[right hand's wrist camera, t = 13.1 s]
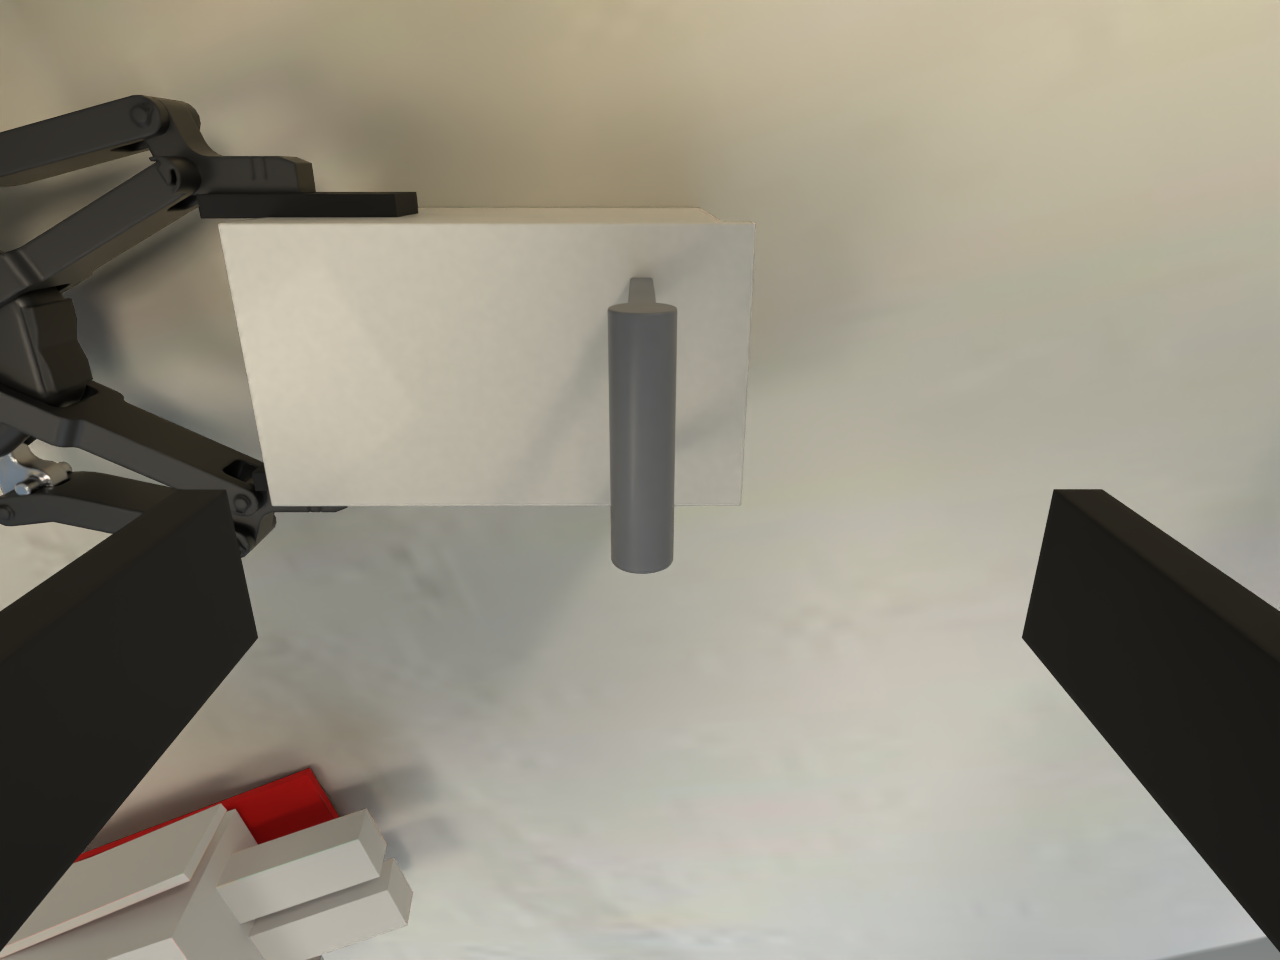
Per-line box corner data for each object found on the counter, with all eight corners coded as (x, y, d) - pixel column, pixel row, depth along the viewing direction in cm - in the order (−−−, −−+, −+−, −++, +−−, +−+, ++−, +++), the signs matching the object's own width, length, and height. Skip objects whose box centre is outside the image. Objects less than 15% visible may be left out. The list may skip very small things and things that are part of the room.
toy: (415, 1044, 38) (-182, 1250, 37) (444, 837, 50) (-2, 988, 50) (307, 866, 34) (-369, 1095, 33) (368, 689, 46) (-121, 851, 45)
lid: (752, 221, 24) (806, 244, 16) (738, 496, 27) (777, 624, 19) (230, 221, 23) (36, 244, 16) (281, 497, 27) (142, 624, 19)
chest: (699, 207, 33) (723, 221, 24) (694, 413, 36) (713, 496, 27) (345, 207, 33) (231, 221, 24) (373, 414, 36) (282, 496, 27)
